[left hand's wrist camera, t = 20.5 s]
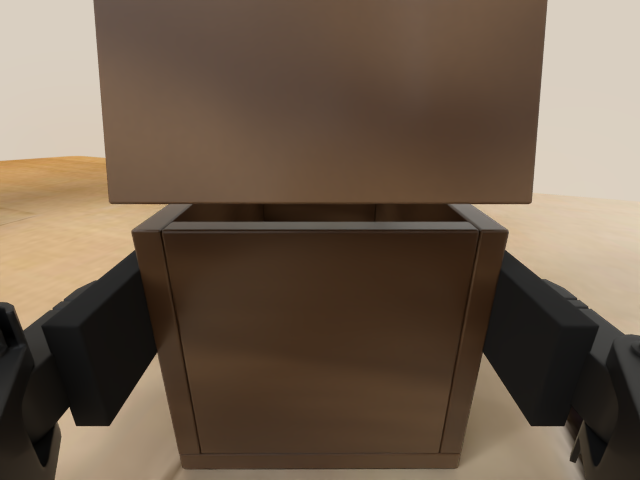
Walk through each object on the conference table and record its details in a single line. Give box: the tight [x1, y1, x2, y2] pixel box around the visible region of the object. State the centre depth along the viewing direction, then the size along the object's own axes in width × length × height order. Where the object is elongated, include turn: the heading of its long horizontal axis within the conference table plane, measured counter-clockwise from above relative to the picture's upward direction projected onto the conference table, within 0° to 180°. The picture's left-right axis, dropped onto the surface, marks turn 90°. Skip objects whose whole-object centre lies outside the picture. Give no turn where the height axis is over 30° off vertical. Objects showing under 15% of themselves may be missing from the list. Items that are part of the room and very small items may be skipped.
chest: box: [132, 204, 509, 469], centre depth 18 cm, size 17×10×9 cm, turn 0°
